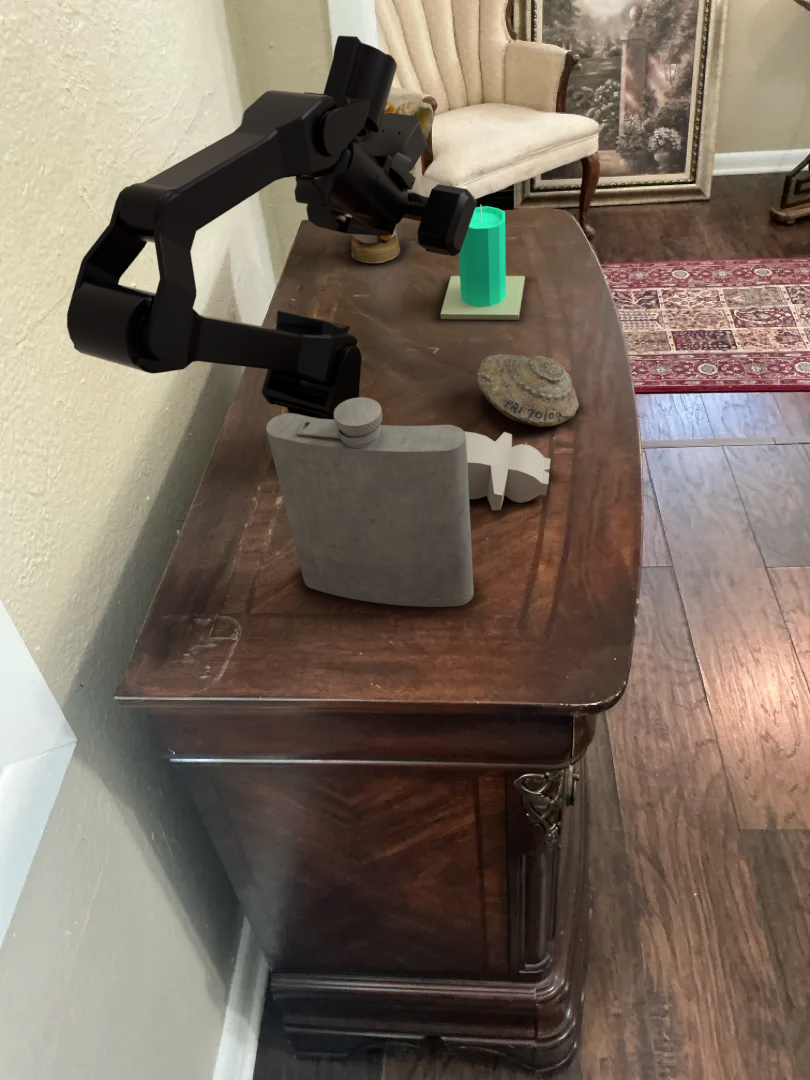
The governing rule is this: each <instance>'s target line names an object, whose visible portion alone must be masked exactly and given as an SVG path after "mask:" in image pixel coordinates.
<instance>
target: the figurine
mask: <svg viewBox="0 0 810 1080" xmlns="http://www.w3.org/2000/svg"><path fill="white" fill-rule="evenodd" d="M385 113H396V114H403V115H410V116H415V117H417V118H418V120H419V122H420V125H421V128H422V130H423V133H424V136H425V138H426V141H427V140H428V138H429V134H430V132H431V130H432V127H433V122H434V119H435V115H434V109H433V106H432V105H431V103H428V102H424V101H420V100H408V101H404V102H403V103H401V104H400V105H398V106H397V107H396V106H395V105H394V104H391V102H390V101H389V100H387V103H386V107H385V110H384V114H385ZM415 170H416V165H415V166H414V168H413V169H412V170H411V171H410V173H411V174H412V175H413V176H414V172H415ZM397 235H398V234H397V230H396V229H395V230H394V233H393V235H390V234H389V236H375V235H361V234H352V237H353V238H352V240H351V257H352V258H353V259H354V260H356V261H358V262H361V263H367V264H382V263H385V262H389V261H392V260H393V259H395V258H396V257H397V256H399V254H400V253H401V247H400V240H399V238H398V236H397Z"/></svg>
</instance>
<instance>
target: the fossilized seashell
mask: <svg viewBox="0 0 810 1080" xmlns="http://www.w3.org/2000/svg"><path fill="white" fill-rule="evenodd" d="M476 382H477V384H478V386H479V389H480V391H481V393H482V394H483V396H484V397H485V399H486V400H487V401H488V402H489V403H490V404H491V405H492V407H494V408H495V410H497V411H498V412H500V414H503V415H504V416H505V417H507V418H508V419H510V420H512V421H514V422H516V423H521V424H524V425H529V426H534V427H538V428H539V427H540V428H541V427H542V428H545V427H554V426H559V425H562V424H563V423H565V422H567V421H569V420H571V419H572V418H573V417H574V416H575V415H576V413H577V410H579V407H580V405H579V404H580V403H579V401H578V398H577V394H576V390H575V388H574V387H573V385H572V383H573V381H572V378H571V377H570V374H569V373H568V372H567V371H566V370H565V368H564V366H562V364H560V363H559V362H558V361H556V359H553V358H551V357H545V356H543V355H535V356H532V357H528V356H527V355H525V354H524V355H520V354H518V355H513V354H504V353H497V354H493V355H489V356H487V357H484V359H482V361H481V362H480V364H479V366H478V369H477V372H476Z"/></svg>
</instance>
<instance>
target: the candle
mask: <svg viewBox="0 0 810 1080" xmlns="http://www.w3.org/2000/svg"><path fill="white" fill-rule="evenodd" d="M506 255H507V254H506V211H504V210H502V209H500V208H498V207H493V206H488V205H484V206H482V204H480V206H476V207H475V210H474V213H473V216H472V219H471V222H470V225H469V228H468V231H467V234H466V237H465V240H464V243H463V246H462V248H461V251H460V253H458V262H459V263H458V264H459V276H460V286H461V300H463V301H464V302H465V303H466V304H468V305H472V306H476V307H483V306H492V305H494V304H497V303H500V302H501V301H502V300H503V299H504V298H505V297H506V276H507V266H506V265H507V264H506V262H507V258H506Z"/></svg>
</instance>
